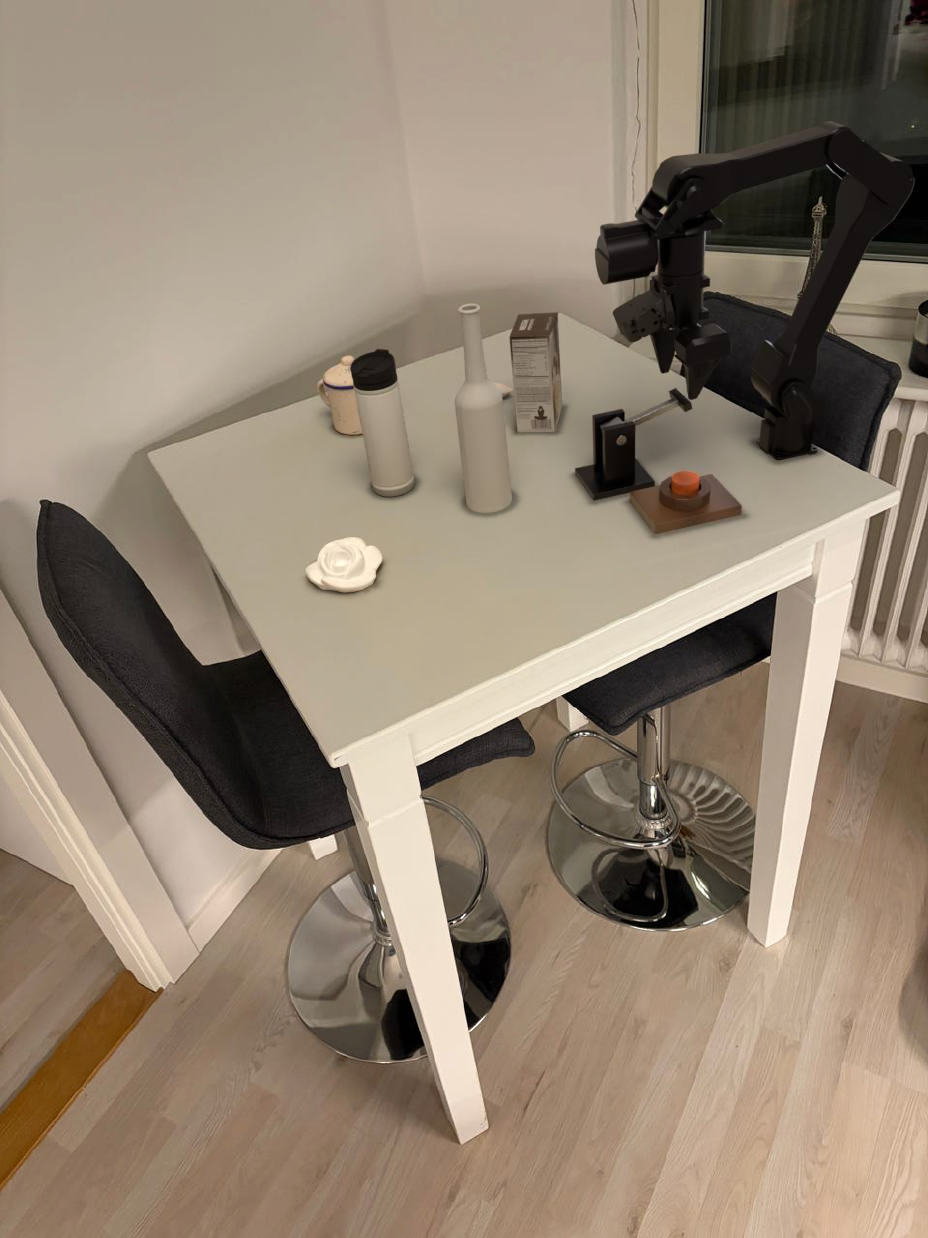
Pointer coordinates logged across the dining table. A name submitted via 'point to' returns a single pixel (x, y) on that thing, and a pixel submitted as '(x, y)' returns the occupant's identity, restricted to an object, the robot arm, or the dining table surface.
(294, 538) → the dining table surface
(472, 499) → the bottle
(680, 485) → the button
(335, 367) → the teacup with lid
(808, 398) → the robot arm
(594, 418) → the lever bracket
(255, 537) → the dining table surface
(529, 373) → the coffee box
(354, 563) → the rose
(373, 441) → the travel mug
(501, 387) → the macaroon
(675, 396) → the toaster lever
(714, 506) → the button block
